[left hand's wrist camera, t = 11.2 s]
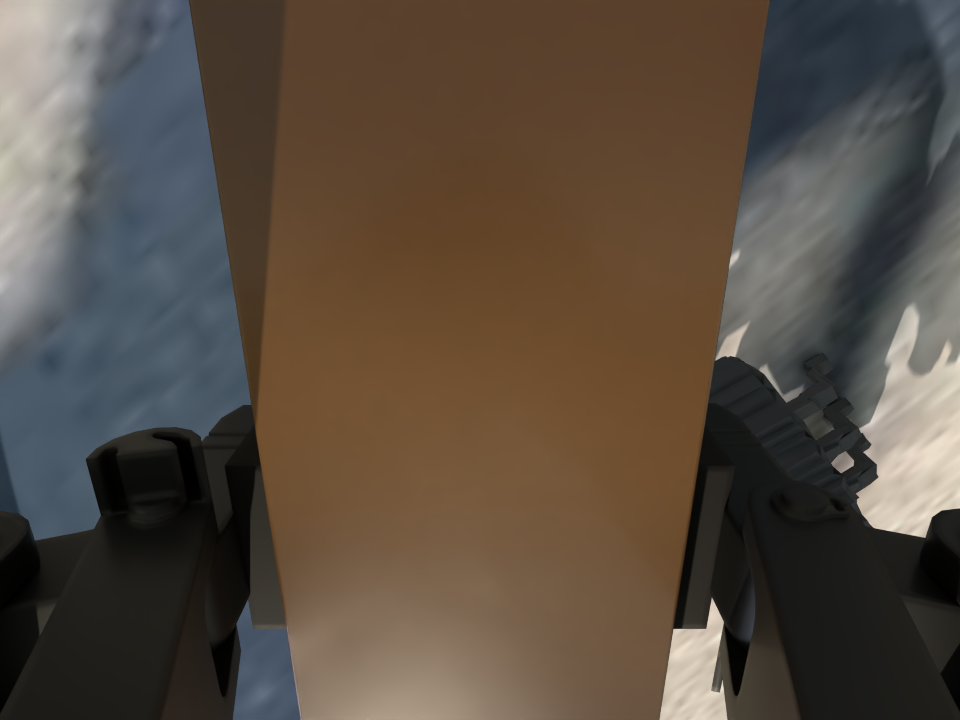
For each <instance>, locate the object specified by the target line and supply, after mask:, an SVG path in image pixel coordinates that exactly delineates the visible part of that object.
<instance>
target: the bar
mask: <svg viewBox="0 0 960 720" xmlns="http://www.w3.org/2000/svg"><path fill="white" fill-rule="evenodd" d="M769 3H770V0H189V5H190V11H191V17H192V24H193V30H194V37H195V43H196V50H197V56H198V63H199V69H200V76H201V82H202V88H203V95H204V101H205V108H206V114H207V121H208V127H209V134H210V140H211V146H212V153H213V159H214V166H215V172H216V179H217V185H218V192H219V198H220V205H221V211H222V217H223V224H224V230H225V237H226V243H227V250H228V256H229V263H230V269H231V276H232V282H233V288H234V295H235V301H236V308H237V314H238V321H239V327H240V334H241V340H242V347H243V353H244V359H245V366H246V372H247V379H248V385H249V392H250V398H251V405H252V411H253V418H254V424H255V430H256V437H257V443H258V450H259V456H260V463H261V469H262V476H263V482H264V489H265V495H266V501H267V508H268V514H269V521H270V527H271V534H272V540H273V547H274V553H275V560H276V566H277V572H278V579H279V585H280V592H281V598H282V605H283V611H284V618H285V624H286V631H287V637H288V643H289V650H290V656H291V663H292V669H293V676H294V682H295V689H296V695H297V702H298V708H299V714H300V720H659V719H660V712H661V706H662V699H663V693H664V686H665V680H666V673H667V667H668V660H669V654H670V647H671V641H672V634H673V628H674V621H675V615H676V608H677V602H678V595H679V589H680V582H681V576H682V569H683V563H684V556H685V550H686V543H687V537H688V530H689V524H690V517H691V511H692V504H693V498H694V491H695V485H696V478H697V472H698V465H699V459H700V452H701V446H702V439H703V433H704V426H705V420H706V413H707V407H708V400H709V394H710V387H711V381H712V374H713V367H714V361H715V354H716V348H717V341H718V335H719V328H720V322H721V315H722V309H723V302H724V296H725V289H726V283H727V276H728V270H729V263H730V257H731V250H732V244H733V237H734V231H735V224H736V218H737V211H738V205H739V198H740V192H741V185H742V179H743V172H744V166H745V159H746V153H747V146H748V140H749V133H750V127H751V120H752V114H753V107H754V101H755V94H756V88H757V81H758V75H759V68H760V62H761V55H762V49H763V42H764V36H765V29H766V23H767V16H768V10H769Z"/></svg>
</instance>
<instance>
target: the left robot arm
mask: <svg viewBox="0 0 960 720" xmlns="http://www.w3.org/2000/svg"><path fill="white" fill-rule="evenodd" d="M86 462H87V466H88V470H89V473H90V477H91V481H92V484H93V488H94V492H95V495H96V499H97V503H98V506H99V510H100V513H101V517H100V519H99V521H98V523H97V524H96V526H95V528H94V529H92V530H88V531H84V532H79V533H73V534H68V535H63V536H58V537H52V538H47V539H42V540H36V541H35V540H34V536H33V533H32V530H31V527H30V524H29V521H28V520H27V519H26V518H24V517H23V516H21V515H20V514H17V513H10V512H2V511H1V512H0V720H233V712H234V704H235V696H236V687H237V679H238V671H239V663H240V654H241V648H240V642H239V636H238V631H237V625H236V623H237V621H238V619H239V617H240V615H241V613H242V611H243V608H244V606H245V604H246V602H247V600H248V601H249V607H250V613H251V618H252V624H253V629H286V624H285V618H284V611H283V605H282V598H281V592H280V585H279V579H278V572H277V566H276V560H275V553H274V547H273V540H272V534H271V527H270V521H269V514H268V508H267V501H266V495H265V489H264V482H263V476H262V469H261V463H260V456H259V450H258V443H257V437H256V430H255V424H254V418H253V411H252V405H243V406H241V407H240V408H238V409H236V410H234V411H233V412H231V413H229V414H228V415H226V416H224V417H222V418H221V419H220V420H219V422H218V423H217V424H216V425H215V426H214V428H213V429H212V430H211V431H210V432H209V436H206V437H205V438H204V439H203V441H202V442H201V437H200V436H199V435H197V434H196V433H195V432H193V431H192V430H187V429H182V428H177V427H170V428H153V429H148V430H142V431H137V432H133V433H130V434H127V435H124V436H121V437H118V438H115V439H113V440H111V441H109V442H107V443H106V444H104V445H102V446H100V447H98V448H97V449H95V450H94V451H93V452H92V453H91V454H90V455H89V456H88V457H87V458H86ZM712 598H713V600H714V602H715V604H716V606H717V608H718V610H719V613H720V615H721V617H722V619H723V621H724V625H723V631H722V636H721V641H720V646H719V651H718V657H717V662H716V667H715V672H714V678H713V684H712V690H711V691H715V692H720V689H721V684H722V680H723V686H724V694H725V702H726V710H727V719H728V720H960V509H951V510H943V511H941V512H939V513H938V514H936V515H935V516H933V517H932V519H931V522H930V525H929V529H928V532H927V535H926V538H923V537H917V536H912V535H907V534H901V533H896V532H891V531H885V530H880V529H875V528H871V527H867V526H865V525H864V523H863V521H862V519H861V517H860V516H859V514H858V513H857V512H856V510H855V509H854V508H853V507H852V506H851V505H850V503H848V502H847V501H845V500H844V499H842V498H841V497H839V496H838V495H836V494H835V493H833V492H831V491H828V490H826V489H823V488H821V487H818V486H816V485H813V484H809V483H805V482H800V481H796V480H792V478H791V477H790V476H789V475H788V474H787V473H786V471H785V470H784V469H783V468H782V467H781V466H780V464H779V463H778V462H777V461H776V460H775V458H774V457H773V456H772V455H771V454H770V453H769V451H768V450H767V449H766V448H765V447H762V443H761V442H760V441H759V440H758V438H757V437H756V436H755V435H754V434H751V430H750V429H749V428H748V427H747V425H746V424H745V423H744V422H743V421H742V420H741V418H740V417H739V416H738V415H736V414H734V413H732V412H731V411H729V410H727V409H726V408H724V407H722V406H720V405H719V404H717V403H708V407H707V413H706V420H705V426H704V433H703V439H702V446H701V452H700V459H699V465H698V472H697V478H696V485H695V491H694V498H693V504H692V511H691V517H690V524H689V530H688V537H687V543H686V550H685V556H684V563H683V569H682V576H681V582H680V589H679V595H678V602H677V608H676V615H675V621H674V628H673V629H706V627H707V621H708V616H709V610H710V605H711V599H712Z"/></svg>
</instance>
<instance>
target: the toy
mask: <svg viewBox="0 0 960 720" xmlns="http://www.w3.org/2000/svg"><path fill="white" fill-rule="evenodd" d="M804 365H805V367H806V368H807V370H808V372H807V373H805V375H807V376H808V377H809V378H810V379H811V380H812V381H813V383H814V384H815V385H813V386H812V387H810V388H808V389H807V390H805V391H804V392H802V393H800V395H799V396H798V397H797V398H795V399H793V400H791V401H789V402H788V403H786V402H785V401H784V399H783V398H782V397H781V396H780V394H779V393H778V392H777V390H776V389H775V388H774V387H773V385H772V384H771V383H770V381H769V380H768V379H767V377H766V376H765V375H764V374H763V373H762V372H760V371H759V370H757V369H756V368H754V367H752V366H750V365H748V364H746V363H745V362H744V361H742V360H740V359H739V358H736V357H732V356H730V357H726V356H725V357H722V358H720V359H718V360H716V361H715V362H714V367H713V374H712V381H711V387H710V394H709V400H708V403H717V404H719V405H720V406H722V407H724V408H726V409H727V410H729V411H731V412H732V413H734V414H736V415H738V416H739V417H740V418H741V420H742V421H743V422H744V423H745V424H746V425H747V427H748V428H749V429H750V430H751V434H754V435H755V436H756V437H757V438H758V440H759V441H760V442H761V443H762V447H765V448H766V449H767V450H768V451H769V453H770V454H771V455H772V456H773V457H774V458H775V460H776V461H777V462H778V463H779V464H780V466H781V467H782V468H783V469H784V470H785V471H786V473H787V474H788V475H789V476H790V477H791V478H792V480H796V481H800V482H805V483H809V484H813V485H816V486H818V487H821V488H823V489H826V490H828V491H831V492H833V493H835V494H836V495H838V496H839V497H841V498H842V499H844V500H845V501H847V502H848V503H850V505H851V506H852V507H853V508H854V509H855V510H856V512H857V513H858V514H859V516H860V517H861V519H862V521H863V523H864V525H865V526H867V527H871V528H873V527H872V526H871V525H870V524H869V523H868V521H867V520H866V519H865V517H864V516H863V515H862V514H861V511H860V509H859V507H858V505H857V499H858V498H859V497H858V496H857V495H856V493H857V492H859V491H860V490H862V489H863V488H865V487H867V486H868V485H870V484H871V483H872V482H873V481H874V480H876V479H877V478H878V475H877V464H875V463H874V462H873V461H872V460H871V459H870V458H869V457H868V456H867V455H865V454H864V453H863V452H864V451H865V450H867V449H869V447H870V446H871V443H870V442H869V441H868V440H867V439H866V438H865V436H864V434H863V433H861V432H860V430H859V428H858V427H857V426H856V425H854V424H853V423H852V422H851V421H850V420H848V419H847V418H846V417H845V416H847V415H848V414H849V413H850V412H851V411H852V410H853V409H854V408H853V407H852V405H851V403H850V402H849V401H848V400H847V399H846V398H843V399H841V400H839V401H837V402H836V403H834V404H832V405H830V406H828V407H826V408H824V409H822V408H823V407H825V406H826V405H828V404H829V403H831V402H832V401H834V400H836V399H837V398H838V396H837V394H836V392H835V390H834V388H836V387H837V386H836V385H835V384H834V383H833V382H832V381H831V380H830V379H828V378H827V377H826V376H825V375H826V374H827V373H829V372H830V371H831V370H832V369H833V367H832V365H831V363H830V362H829V360H828V359H827V358H826V356H825V355H824V354H823V353H821V354H820V355H818V356H816V357H814V358H812V359H811V360H809V361H807V362H805V363H804ZM820 409H822V410H823V412H824V414H825V416H826V417H827V418H828V419H829V420H830V421H831V422H832V423H833V424H834V425H833V427H834V429H835V430H832V431H831V432H829V433H827V434H826V435H824V436H823V437H821V438H819V439H818V440H815V439H814V437H813V436H812V434H811V432H810V431H809V429H808V428H807V426H806V424H805V423H804V421H803V419H805V418H806V417H808V416H810V415H812V414H813V413H815V412H817V411H818V410H820ZM845 451H846V452H847V453H848V454H849V455H850V456H851V458H852V459H853V460H854V466H853V467H851V468H849V469H848V470H846V471H844V472H843V473H840V472H839V471H837V470H836V469H835V468H834V467H833V466H832V464H831V462H832V461H833V460H834V459H835V458H836V457H837V456H838V455H839V454H841V453H843V452H845Z"/></svg>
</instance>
